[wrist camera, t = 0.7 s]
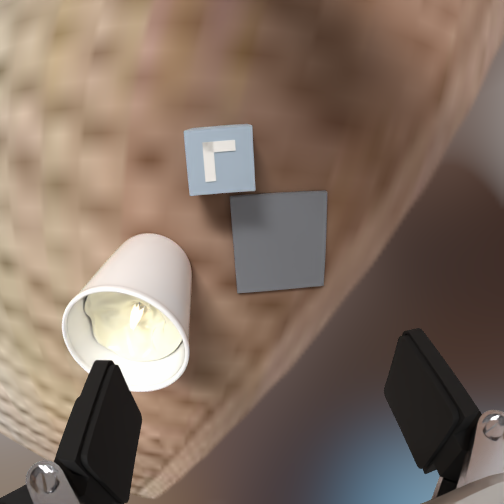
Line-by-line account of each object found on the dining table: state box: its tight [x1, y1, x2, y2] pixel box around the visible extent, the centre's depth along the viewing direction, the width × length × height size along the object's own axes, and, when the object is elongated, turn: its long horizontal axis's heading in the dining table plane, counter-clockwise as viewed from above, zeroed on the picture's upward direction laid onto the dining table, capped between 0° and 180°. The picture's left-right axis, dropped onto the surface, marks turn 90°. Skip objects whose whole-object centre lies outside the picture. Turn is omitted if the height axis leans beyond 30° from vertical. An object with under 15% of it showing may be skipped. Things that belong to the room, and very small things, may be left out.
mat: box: [230, 190, 327, 293], centre depth 31 cm, size 10×9×1 cm
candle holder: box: [62, 233, 192, 392], centre depth 26 cm, size 10×10×12 cm
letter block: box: [184, 124, 255, 196], centre depth 25 cm, size 5×5×5 cm
